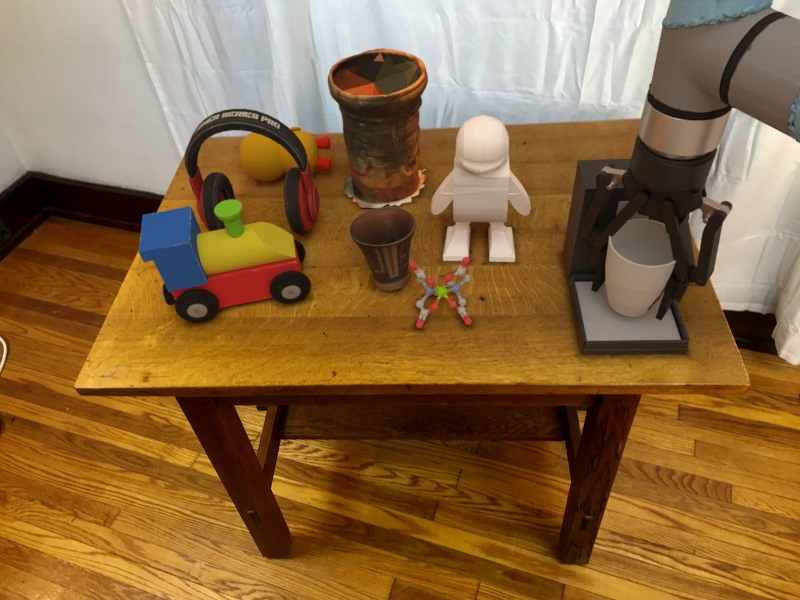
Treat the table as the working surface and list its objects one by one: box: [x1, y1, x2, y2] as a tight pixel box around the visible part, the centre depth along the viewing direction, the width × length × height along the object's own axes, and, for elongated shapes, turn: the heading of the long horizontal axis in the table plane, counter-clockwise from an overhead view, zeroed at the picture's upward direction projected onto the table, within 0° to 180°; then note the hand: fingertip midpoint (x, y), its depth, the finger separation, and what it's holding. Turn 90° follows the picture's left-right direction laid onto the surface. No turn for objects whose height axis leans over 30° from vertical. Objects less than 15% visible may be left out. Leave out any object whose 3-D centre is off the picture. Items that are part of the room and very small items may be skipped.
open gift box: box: [561, 157, 691, 356], centre depth 76 cm, size 18×12×16 cm
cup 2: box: [605, 219, 676, 317], centre depth 74 cm, size 8×8×10 cm
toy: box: [239, 126, 333, 183], centre depth 103 cm, size 9×9×15 cm
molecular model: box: [408, 256, 473, 330], centre depth 80 cm, size 7×8×8 cm
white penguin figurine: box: [430, 114, 532, 263], centre depth 84 cm, size 14×9×20 cm, turn 84°
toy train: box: [138, 199, 312, 323], centre depth 82 cm, size 9×20×15 cm, turn 102°
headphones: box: [184, 108, 321, 235], centre depth 89 cm, size 18×10×20 cm, turn 90°
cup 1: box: [348, 206, 417, 292], centre depth 84 cm, size 9×9×10 cm
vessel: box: [327, 48, 429, 209], centre depth 95 cm, size 14×14×20 cm
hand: (629, 298), depth 77 cm, fingers closed on cup 2, 8 cm apart
